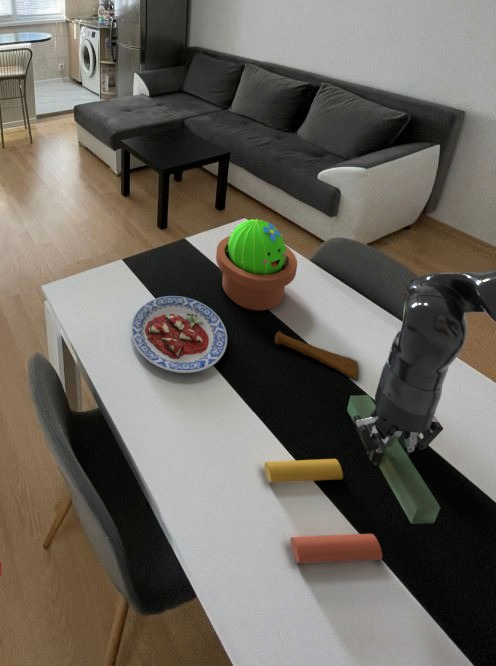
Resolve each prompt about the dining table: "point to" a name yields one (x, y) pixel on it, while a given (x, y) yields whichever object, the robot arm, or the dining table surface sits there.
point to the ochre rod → (303, 470)
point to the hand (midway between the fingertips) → (385, 459)
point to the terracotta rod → (335, 548)
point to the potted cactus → (255, 265)
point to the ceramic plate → (179, 334)
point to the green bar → (400, 472)
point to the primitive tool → (320, 355)
